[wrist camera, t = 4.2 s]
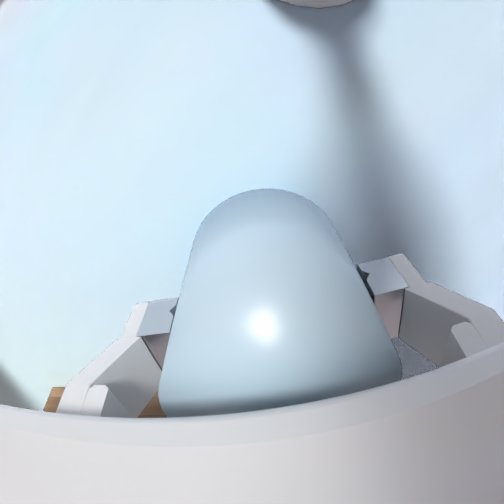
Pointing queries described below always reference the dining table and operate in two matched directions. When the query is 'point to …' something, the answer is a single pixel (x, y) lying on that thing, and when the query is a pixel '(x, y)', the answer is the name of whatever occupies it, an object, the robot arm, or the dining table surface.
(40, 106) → the dining table surface
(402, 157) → the dining table surface
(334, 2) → the chalice
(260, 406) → the grey rounded piece
